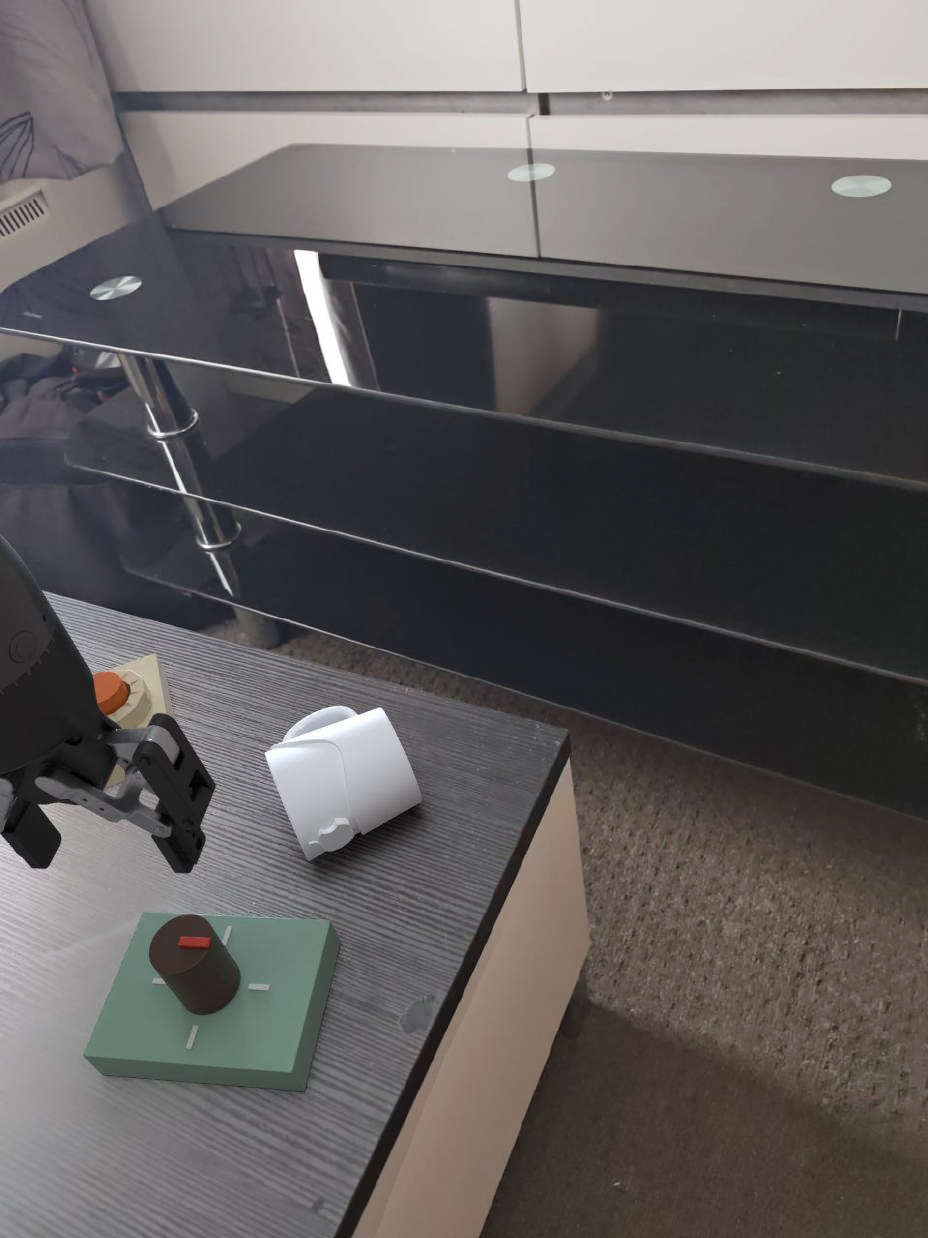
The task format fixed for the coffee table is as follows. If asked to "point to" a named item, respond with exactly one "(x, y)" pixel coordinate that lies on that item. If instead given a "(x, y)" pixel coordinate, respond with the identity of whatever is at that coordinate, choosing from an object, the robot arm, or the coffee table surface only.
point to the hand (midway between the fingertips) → (118, 857)
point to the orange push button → (110, 691)
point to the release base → (141, 699)
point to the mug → (341, 776)
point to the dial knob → (194, 964)
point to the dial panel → (239, 1032)
